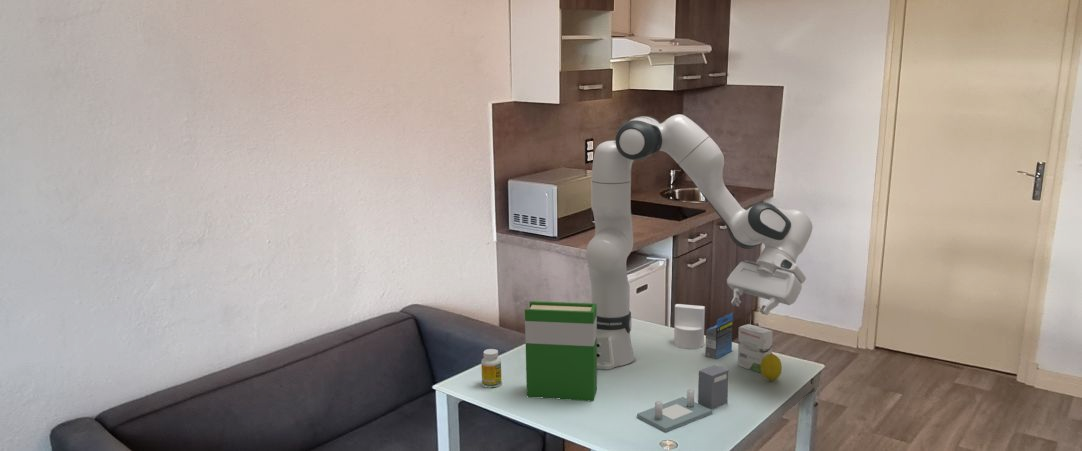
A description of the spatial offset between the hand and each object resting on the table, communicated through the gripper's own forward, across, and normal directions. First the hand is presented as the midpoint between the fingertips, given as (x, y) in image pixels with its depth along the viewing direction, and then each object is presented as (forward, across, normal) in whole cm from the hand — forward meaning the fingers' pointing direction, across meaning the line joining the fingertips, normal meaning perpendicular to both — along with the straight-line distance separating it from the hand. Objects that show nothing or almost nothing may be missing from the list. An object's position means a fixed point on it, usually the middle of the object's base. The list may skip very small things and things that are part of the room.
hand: (748, 309), depth 206 cm
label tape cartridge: (+6, -23, +26) cm, 35 cm away
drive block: (+25, 0, +7) cm, 26 cm away
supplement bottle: (+51, -46, -20) cm, 72 cm away
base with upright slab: (+6, -34, +26) cm, 43 cm away
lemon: (+9, 0, +23) cm, 25 cm away
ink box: (+6, -9, +26) cm, 28 cm away
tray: (+34, -1, -2) cm, 34 cm away
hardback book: (+43, -29, -12) cm, 54 cm away
